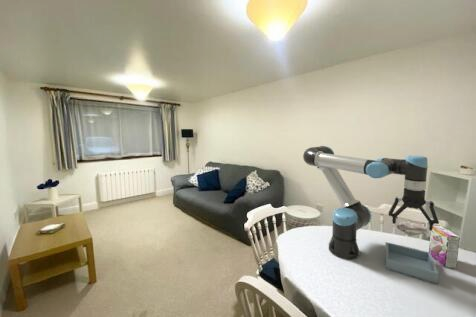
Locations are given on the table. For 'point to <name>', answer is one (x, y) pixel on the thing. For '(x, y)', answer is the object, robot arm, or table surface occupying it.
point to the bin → (411, 262)
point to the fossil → (411, 228)
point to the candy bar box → (444, 246)
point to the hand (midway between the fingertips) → (410, 232)
